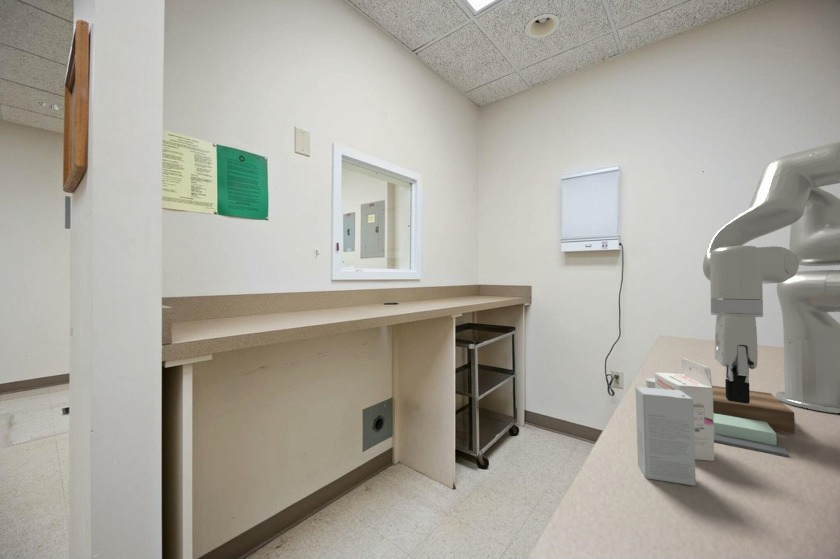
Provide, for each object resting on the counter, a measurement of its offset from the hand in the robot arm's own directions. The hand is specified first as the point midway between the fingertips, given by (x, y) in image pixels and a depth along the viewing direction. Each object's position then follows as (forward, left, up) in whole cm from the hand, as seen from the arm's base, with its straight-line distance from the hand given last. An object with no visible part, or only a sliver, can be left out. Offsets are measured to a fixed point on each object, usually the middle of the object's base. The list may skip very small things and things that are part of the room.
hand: (737, 401), depth 65 cm
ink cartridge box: (+17, -10, -5) cm, 21 cm away
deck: (-9, 0, -5) cm, 10 cm away
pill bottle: (+6, -13, -5) cm, 15 cm away
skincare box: (+29, -13, -5) cm, 33 cm away
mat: (+5, -2, -5) cm, 8 cm away
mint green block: (+5, 0, -3) cm, 6 cm away
